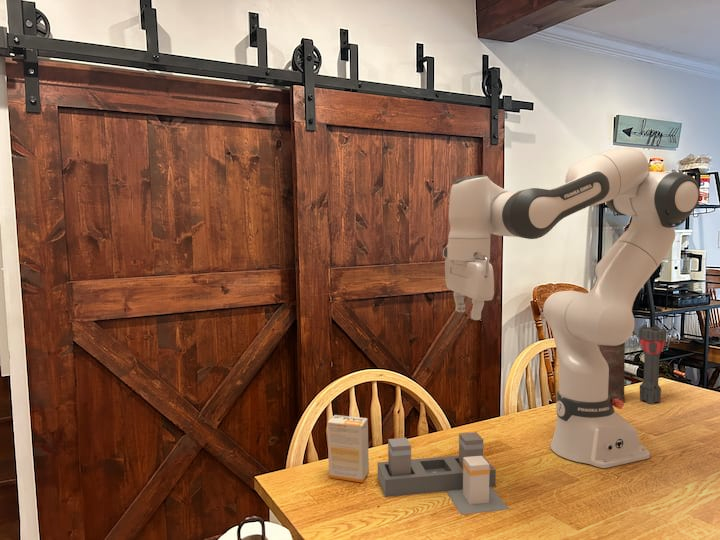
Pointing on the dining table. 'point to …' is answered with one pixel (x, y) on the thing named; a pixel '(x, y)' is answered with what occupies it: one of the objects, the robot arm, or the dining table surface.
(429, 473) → the strip
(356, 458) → the supplement box
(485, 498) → the plug
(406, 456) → the twin plug
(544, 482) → the dining table surface
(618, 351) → the brown tall block
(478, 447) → the twin plug
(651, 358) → the flashlight
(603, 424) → the robot arm
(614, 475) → the dining table surface
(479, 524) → the dining table surface
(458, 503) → the mat
